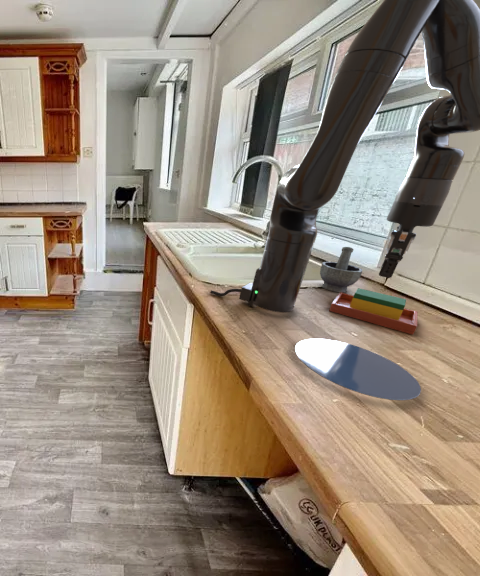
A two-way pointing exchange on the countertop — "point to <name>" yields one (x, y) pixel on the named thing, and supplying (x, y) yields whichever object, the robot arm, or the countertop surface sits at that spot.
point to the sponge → (378, 303)
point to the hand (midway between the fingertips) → (385, 273)
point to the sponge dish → (404, 323)
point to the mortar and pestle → (340, 272)
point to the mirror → (357, 369)
